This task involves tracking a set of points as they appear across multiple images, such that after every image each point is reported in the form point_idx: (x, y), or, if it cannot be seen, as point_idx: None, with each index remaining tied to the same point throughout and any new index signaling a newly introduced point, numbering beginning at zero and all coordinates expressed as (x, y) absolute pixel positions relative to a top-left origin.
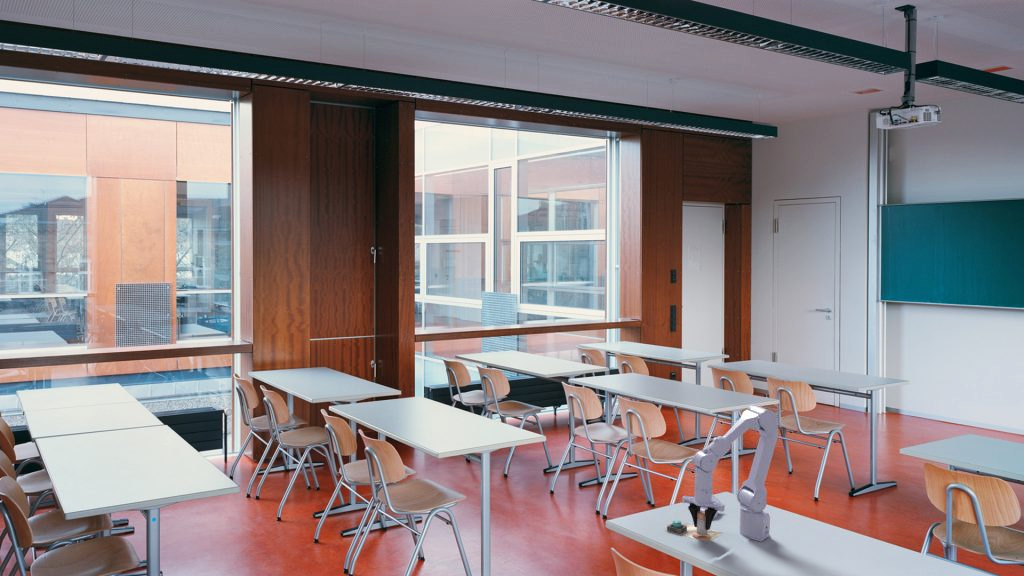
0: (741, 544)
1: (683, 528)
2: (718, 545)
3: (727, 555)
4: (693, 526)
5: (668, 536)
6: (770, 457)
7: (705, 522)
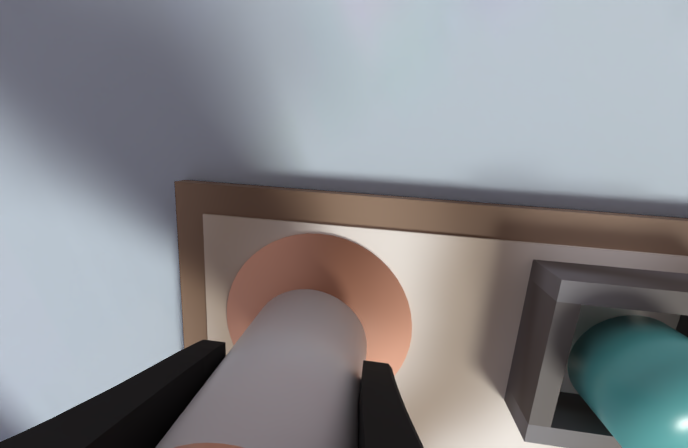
0: (39, 366)
1: (539, 356)
2: (141, 243)
3: None
4: None
5: (644, 173)
6: None
7: (173, 427)
